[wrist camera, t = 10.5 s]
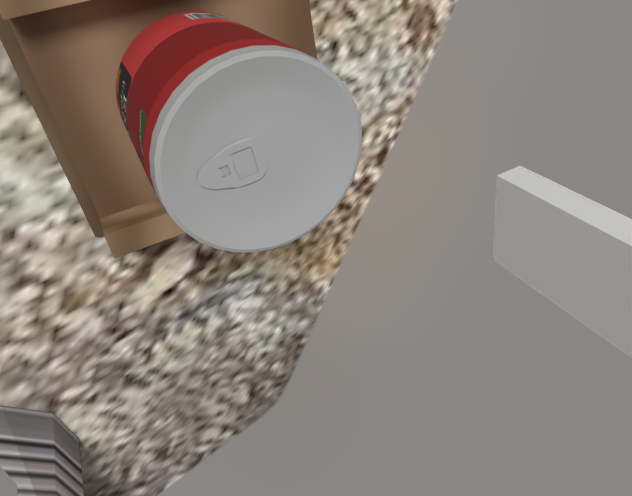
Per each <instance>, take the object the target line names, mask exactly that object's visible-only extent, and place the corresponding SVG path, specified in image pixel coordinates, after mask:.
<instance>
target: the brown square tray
mask: <svg viewBox="0 0 632 496" xmlns="http://www.w3.org/2000/svg"><path fill="white" fill-rule="evenodd" d="M185 11H206V12H210V13H214V14H219V15H222V16H224V17H226V18H229V19H231V20H233V21H235V22H238V23H240V24H242V25H244V26H247V27H249V28H251V29H253V30H256V31H258V32H260V33H262V34H265V35H267V36H269V37H271V38H274V39H276V40H278V41H280V42H283V43H285V44H287V45H289V46H291V47H294V48H296V49H298V50H300V51H302V52H304V53H305V54H307V55H310V56H312V57H314V58H316V59H317V54H316V47H315V41H314V34H313V27H312V21H311V14H310V7H309V0H0V39H1V41H2V43H3V45H4V47H5V50H6V52H7V54H8V56H9V58H10V60H11V62H12V64H13V66H14V68H15V70H16V72H17V74H18V77H19V79H20V81H21V83H22V85H23V87H24V89H25V91H26V93H27V95H28V97H29V99H30V102H31V104H32V106H33V108H34V110H35V112H36V114H37V116H38V118H39V120H40V122H41V124H42V126H43V129H44V131H45V133H46V135H47V137H48V139H49V141H50V143H51V145H52V147H53V149H54V151H55V154H56V156H57V158H58V160H59V162H60V164H61V166H62V168H63V170H64V172H65V174H66V176H67V179H68V181H69V183H70V185H71V187H72V189H73V191H74V193H75V195H76V197H77V199H78V201H79V203H80V206H81V208H82V210H83V212H84V214H85V216H86V218H87V220H88V222H89V224H90V226H91V228H92V231H93V233H94V235H95V237H99V236H102V235H104V236H105V239H106V241H107V243H108V245H109V247H110V249H111V251H112V253H113V256H114V258H117V257H120V256H123V255H126V254H128V253H131V252H134V251H137V250H139V249H142V248H145V247H148V246H150V245H153V244H156V243H159V242H162V241H164V240H167V239H170V238H173V237H175V236H178V235H181V234H184V233H185V232H184V231H183V230H182V229H181V228H180V227H179V226H178V225H177V224H176V223H175V222H174V220H173V219H172V218H171V217H170V216H169V214H168V213H167V212H166V211H165V209H164V207H163V206H162V204H161V202H160V200H159V199H158V197H157V195H156V193H155V191H154V189H153V187H152V186H151V184H150V181H149V179H148V177H147V175H146V172H145V170H144V168H143V166H142V163H141V161H140V159H139V157H138V154H137V152H136V150H135V148H134V145H133V143H132V141H131V139H130V136H129V134H128V132H127V130H126V127H125V125H124V123H123V121H122V118H121V115H120V112H119V109H118V106H117V99H116V89H115V88H116V79H117V72H118V69H119V66H120V63H121V60H122V57H123V55H124V54H125V52H126V50H127V49H128V47H129V45H130V44H131V42H132V41H133V40H134V39H135V38H136V37H137V36H138V35H139V34H140V32H141V31H142V30H144V29H145V28H147V27H148V26H149V25H151V24H152V23H154V22H155V21H157V20H159V19H161V18H164V17H166V16H169V15H171V14H175V13H180V12H185Z"/></svg>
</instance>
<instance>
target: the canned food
mask: <svg viewBox="0 0 632 496" xmlns="http://www.w3.org/2000/svg"><path fill="white" fill-rule="evenodd" d="M115 89H116V99H117V106H118V109H119V112H120V115H121V118H122V121H123V123H124V125H125V127H126V130H127V132H128V134H129V136H130V139H131V141H132V143H133V145H134V148H135V150H136V152H137V154H138V157H139V159H140V161H141V163H142V166H143V168H144V170H145V172H146V175H147V177H148V179H149V181H150V184H151V186H152V187H153V189H154V191H155V193H156V195H157V197H158V199H159V200H160V202H161V204H162V206H163V207H164V209H165V211H166V212H167V213H168V214H169V216H170V217H171V218H172V219H173V220H174V222H175V223H176V224H177V225H178V226H179V227H180V228H181V229H182V230H183V231H184V232H185V233H187V234H188V235H190V236H191V237H193V238H194V239H196V240H197V241H199V242H201V243H203V244H206V245H208V246H210V247H213V248H215V249H219V250H225V251H230V252H259V251H264V250H270V249H274V248H277V247H280V246H283V245H286V244H288V243H291V242H293V241H294V240H296V239H298V238H300V237H302V236H304V235H306V234H307V233H309V232H310V231H311V230H313V229H314V228H315V227H317V226H318V225H319V224H321V223H322V222H323V221H324V220H325V219H326V218H327V217H328V216H329V215H330V214H331V213H332V212H333V211H334V210H335V208H336V207H337V206H338V204H339V203H340V201H341V200H342V199H343V197H344V196H345V195H346V193H347V191H348V189H349V187H350V185H351V183H352V181H353V179H354V176H355V173H356V170H357V167H358V164H359V161H360V154H361V146H362V131H361V121H360V117H359V113H358V110H357V106H356V104H355V102H354V100H353V98H352V96H351V94H350V92H349V90H348V88H347V87H346V86H345V85H344V83H343V82H342V81H341V80H340V79H339V77H338V76H337V75H336V74H335V73H333V72H332V71H331V70H330V69H329V68H327V67H326V66H325V65H323V64H322V63H321V62H320V61H318V60H317V59H316V58H314V57H312V56H310V55H307V54H305V53H304V52H302V51H300V50H298V49H296V48H294V47H291V46H289V45H287V44H285V43H283V42H280V41H278V40H276V39H274V38H271V37H269V36H267V35H265V34H262V33H260V32H258V31H256V30H253V29H251V28H249V27H247V26H244V25H242V24H240V23H238V22H235V21H233V20H231V19H229V18H226V17H224V16H222V15H219V14H214V13H210V12H206V11H185V12H180V13H175V14H171V15H169V16H166V17H164V18H161V19H159V20H157V21H155V22H154V23H152V24H151V25H149V26H148V27H147V28H145V29H144V30H142V31H141V32H140V34H139V35H138V36H137V37H136V38H135V39H134V40H133V41H132V42H131V44H130V45H129V47H128V49H127V50H126V52H125V54H124V55H123V57H122V60H121V63H120V66H119V69H118V72H117V79H116V88H115Z"/></svg>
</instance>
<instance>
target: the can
mask: <svg viewBox="0 0 632 496" xmlns="http://www.w3.org/2000/svg"><path fill="white" fill-rule="evenodd" d="M0 466H1V468H2V469H3V470H4V471H5V472H6V473H7V474H8V475H9V476H10V478H11V479H12V480H13V481H14V482H15V483H16V484H17V496H84V492H83V481H82V469H81V458H80V446H79V438H78V437H77V436H76V435H75V434H74V433H73V432H72V431H71V430H70V429H69V428H68V427H67V426H66V425H65V424H64V423H63V422H62V421H61V420H60V419H59V418H58V417H57V416H55V415H54V414H53V413H50V412H43V411H36V410H29V409H22V408H15V407H8V406H0Z"/></svg>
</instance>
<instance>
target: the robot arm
mask: <svg viewBox="0 0 632 496" xmlns="http://www.w3.org/2000/svg"><path fill="white" fill-rule="evenodd" d="M494 227H495V228H494V246H493V260H494V261H495V262H497V263H498V264H499V265H501V266H502V267H504V268H505V269H507V270H508V271H509V272H511V273H512V274H514V275H515V276H516V277H518V278H519V279H521V280H522V281H524V282H525V283H526V284H528V285H529V286H531V287H532V288H533V289H535V290H536V291H538V292H539V293H540V294H542V295H543V296H545V297H546V298H548V299H549V300H551V301H552V302H553V303H555V304H556V305H558V306H559V307H560V308H562V309H564V310H565V311H566V312H568V313H569V314H570V315H572V316H573V317H574V318H576V319H577V320H579V321H580V322H582V323H583V324H584V325H586V326H587V327H589V328H590V329H591V330H593V331H594V332H596V333H597V334H599V335H600V336H601V337H603V338H604V339H606V340H607V341H608V342H610V343H611V344H613V345H614V346H616V347H617V348H619V349H620V350H621V351H623V352H624V353H626V354H627V355H628V356H630V357H631V358H632V219H630V218H628V217H626V216H624V215H621V214H620V213H617V212H615V211H613V210H611V209H609V208H607V207H605V206H603V205H601V204H599V203H597V202H594V201H592V200H590V199H588V198H586V197H584V196H582V195H580V194H578V193H576V192H573V191H571V190H570V189H567V188H565V187H563V186H561V185H559V184H557V183H555V182H553V181H551V180H549V179H547V178H544V177H542V176H540V175H538V174H536V173H534V172H532V171H530V170H527V169H525V168H524V167H522V166H519V167H516V168H514V169H512V170H509V171H507V172H504V173H502V174H500V175H498V176H497V187H496V207H495V226H494ZM0 496H17V484H16V483H15V482H14V481H13V480H12V479H11V478H10V476H9V475H8V474H7V473H6V472H5V471H4V470H3V469H2V468H1V466H0Z"/></svg>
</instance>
